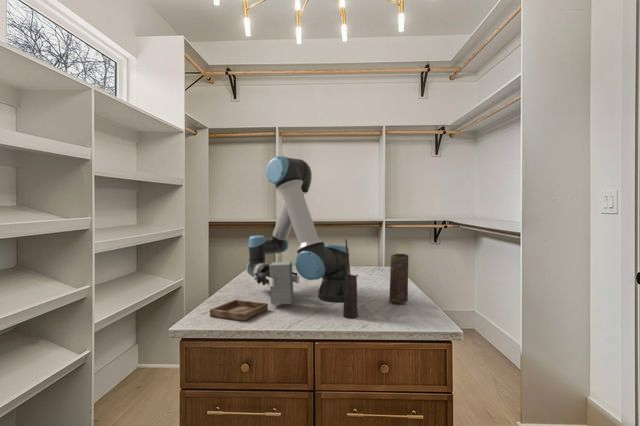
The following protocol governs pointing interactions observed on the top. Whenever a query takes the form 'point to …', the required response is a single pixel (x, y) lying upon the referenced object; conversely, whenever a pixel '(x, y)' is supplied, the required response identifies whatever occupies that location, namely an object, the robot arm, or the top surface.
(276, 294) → the skincare box
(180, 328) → the top surface
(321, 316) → the top surface
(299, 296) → the top surface
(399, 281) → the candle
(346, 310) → the butter churn
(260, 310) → the walnut tray
